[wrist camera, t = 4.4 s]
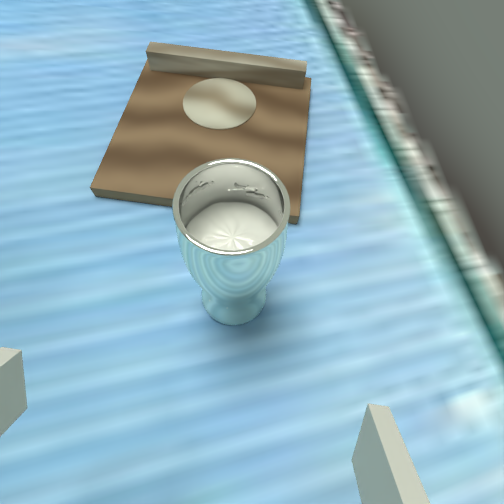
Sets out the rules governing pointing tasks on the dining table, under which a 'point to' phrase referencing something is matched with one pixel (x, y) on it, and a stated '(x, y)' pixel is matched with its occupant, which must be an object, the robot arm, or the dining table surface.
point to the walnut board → (207, 122)
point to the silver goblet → (232, 234)
